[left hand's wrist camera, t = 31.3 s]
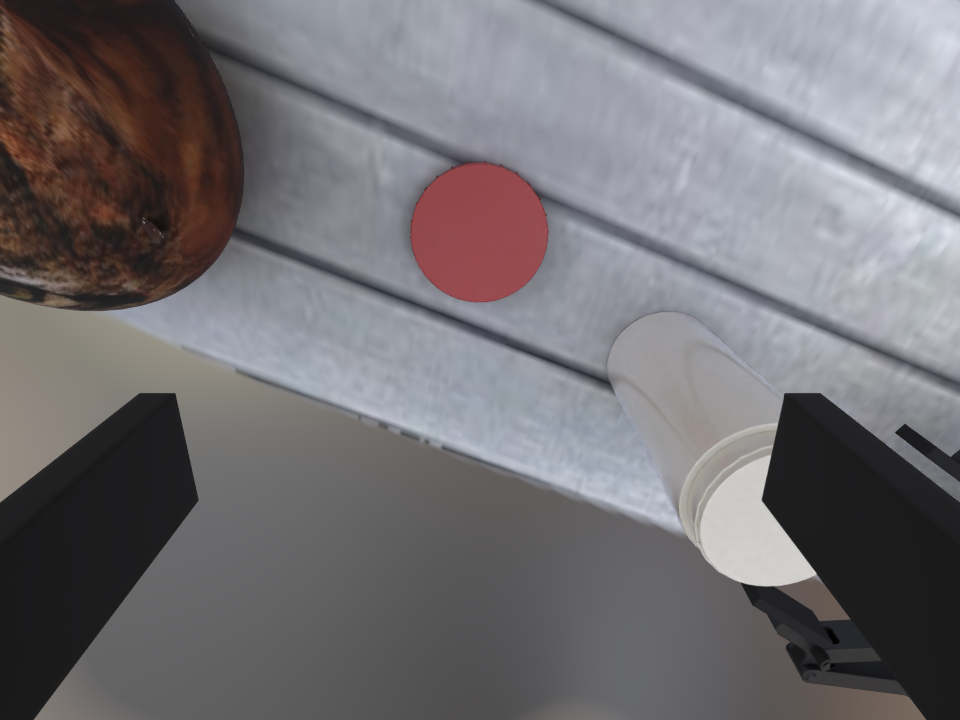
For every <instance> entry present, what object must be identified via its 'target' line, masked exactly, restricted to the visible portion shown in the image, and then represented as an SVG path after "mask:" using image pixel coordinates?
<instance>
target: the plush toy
mask: <svg viewBox="0 0 960 720" xmlns="http://www.w3.org/2000/svg"><path fill="white" fill-rule="evenodd" d="M243 183H244V167H243V151H242V145H241V139H240V133H239V129H238V125H237V121H236V117H235V114H234V111H233V107H232V105H231V102H230V99H229V96H228V93H227V90H226V88H225V85H224V83H223V81H222V79H221V76H220V74H219V72H218V70H217V68H216V66H215V64H214V62H213V60H212V58H211V56H210V54H209V52H208V51H207V49H206V47H205V45H204V44H203V42H202V41H201V39H200V37H199V36H198V34H197V32H196V31H195V29H194V27H193V26H192V25H191V23H190V22H189V20H188V19H187V17H186V16H185V14H184V13H183V12H182V10H181V9H180V8H179V6H178V5H177V4H176V2H175V1H174V0H0V295H3V296H6V297H9V298H12V299H16V300H20V301H24V302H28V303H31V304H36V305H41V306H47V307H52V308H58V309H68V310H79V311H107V310H119V309H126V308H132V307H137V306H142V305H145V304H149V303H152V302H155V301H158V300H161V299H163V298H166V297H168V296H170V295H173V294H175V293H176V292H178V291H180V290H182V289H183V288H185V287H187V286H188V285H190V284H191V283H192V282H194V281H195V280H196V279H198V278H199V277H200V276H201V275H202V274H203V273H204V272H205V271H206V270H207V269H208V268H209V267H210V266H211V265H212V264H213V263H214V262H215V261H216V259H217V258H218V257H219V256H220V254H221V253H222V251H223V250H224V248H225V246H226V245H227V243H228V241H229V239H230V237H231V235H232V232H233V230H234V227H235V225H236V222H237V218H238V215H239V211H240V207H241V202H242V195H243Z"/></svg>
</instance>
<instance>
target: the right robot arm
mask: <svg viewBox="0 0 960 720" xmlns="http://www.w3.org/2000/svg"><path fill="white" fill-rule="evenodd" d="M895 433H896V434H897V435H899V436H900V437H901V438H903V439H904V440H905V441H906V442H908V443H909V444H910V445H912V446H913V447H914V448H915V449H917V450H918V451H919V452H921V453H922V454H923V455H925V456H926V457H927V458H929V459H930V460H931V461H933V462H934V463H935V464H937V465H938V466H939V467H941V468H942V469H943V470H945V471H946V472H947V473H949V474H950V475H951V476H953V477H954V478H956V479H957V480H958V481H960V450H959V451H958V452H956V453H955V454H954V455H953V456H952V457H949V456H948V455H947V454H945V453H944V452H943V451H941V450H940V449H939V448H937V447H936V446H935V445H933V444H932V443H930V442H929V441H928V440H926V439H925V438H924V437H922V436H921V435H920V434H918V433H917V432H915V431H914V430H913V429H911V428H910V427H909V426H907V425H906V424H904V425H903V426H902V427H901V428H900V429H899V430H897V431H896V432H895ZM741 584H742V586H743V588H744V590H745V592H746V594H747V596H748V597H749V599H750V601H751V603H752V605H753V606H755V607H756V608H758V609H760V610H761V611H763V612H764V613H766V614H767V615H768V617H769V619H770V621H771V622H772V624H773V626H774V628H775V630H776V631H777V633H778V634H779V635H780V636H782V637H784V638H785V639H787V640H789V641H790V643H788V644H787V646H786V651H787V652H788V654H789V656H790V658H791V660H792V662H793V663H794V665H795V667H796V669H797V671H798V673H799V674H800V676H801V678H802V680H803V681H804V682H807V683H814V684H822V685H830V686H838V687H845V688H853V689H861V690H869V691H877V692H885V693H892V694H900V695H905V696H908V695H907V693H906V692H905V691H904V689H903V688H902V687H901V685H900V684H899V683H898V681H897V680H896V679H895V677H894V676H893V675H892V673H891V672H890V671H889V669H888V668H887V667H886V665H885V664H884V663H883V661H882V660H881V659H880V657H879V656H878V655H877V653H876V652H875V651H874V649H873V648H872V647H871V645H870V644H869V643H868V641H867V640H866V639H865V637H864V636H863V635H862V633H861V632H860V631H859V629H858V628H857V627H856V625H855V624H854V623H853V621H852V620H834V621H819V620H818V619H817V617H816V616H815V614H814V613H813V611H812V610H810V609H808V608H807V607H805V606H804V605H802V604H801V603H799V602H797V601H796V600H794V599H793V598H791V597H790V596H788V595H786V594H785V593H783V592H782V591H780V590H778V589H777V588H775V587H774V586H755V585H749V584H745V583H741ZM908 697H909V696H908Z"/></svg>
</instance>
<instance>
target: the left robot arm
mask: <svg viewBox="0 0 960 720" xmlns="http://www.w3.org/2000/svg"><path fill="white" fill-rule="evenodd" d="M197 502H198V495H197V491H196V486H195V482H194V477H193V472H192V468H191V463H190V459H189V454H188V449H187V445H186V440H185V436H184V431H183V427H182V422H181V417H180V413H179V408H178V404H177V399H176V394H175V393H140V394H138V395H137V396H136V397H134V398H133V399H132V400H131V401H129V402H128V403H127V404H125V405H124V406H123V407H122V408H120V409H119V410H118V411H116V412H115V413H114V414H113V415H111V416H110V417H109V418H108V419H106V420H105V421H104V422H103V423H101V424H100V425H99V426H97V427H96V428H95V429H94V430H92V431H91V432H90V433H88V434H87V435H86V436H85V437H83V438H82V439H81V440H80V441H78V442H77V443H76V444H74V445H73V446H72V447H71V448H69V449H68V450H67V451H65V452H64V453H63V454H62V455H60V456H59V457H58V458H57V459H55V460H54V461H53V462H51V463H50V464H49V465H48V466H46V467H45V468H44V469H43V470H41V471H40V472H39V473H37V474H36V475H35V476H34V477H32V478H31V479H30V480H28V481H27V482H26V483H25V484H23V485H22V486H21V487H20V488H18V489H17V490H16V491H15V492H13V493H12V494H11V495H9V496H8V497H7V498H6V499H4V500H3V501H2V502H0V720H34V718H35V717H36V716H37V714H38V713H39V712H40V710H41V709H42V708H43V706H44V705H45V704H46V702H47V701H48V700H49V698H50V697H51V696H52V694H53V693H54V692H55V691H56V689H57V688H58V687H59V685H60V684H61V683H62V681H63V680H64V679H65V677H66V676H67V675H68V673H69V672H70V671H71V669H72V668H73V667H74V665H75V664H76V663H77V661H78V660H79V659H80V657H81V656H82V655H83V653H84V652H85V651H86V649H87V648H88V647H89V645H90V644H91V643H92V641H93V640H94V639H95V637H96V636H97V635H98V633H99V632H100V631H101V629H102V628H103V627H104V625H105V624H106V623H107V621H108V620H109V619H110V617H111V616H112V615H113V613H114V612H115V611H116V609H117V608H118V607H119V605H120V604H121V603H122V601H123V600H124V599H125V597H126V596H127V595H128V594H129V592H130V591H131V590H132V588H133V587H134V585H135V584H136V583H137V582H138V580H139V579H140V577H141V576H142V575H143V574H144V572H145V571H146V570H147V568H148V567H149V566H150V564H151V563H152V562H153V560H154V559H155V558H156V556H157V555H158V554H159V552H160V551H161V550H162V548H163V547H164V546H165V544H166V543H167V542H168V540H169V539H170V538H171V536H172V535H173V534H174V532H175V531H176V530H177V528H178V527H179V526H180V524H181V523H182V522H183V520H184V519H185V518H186V516H187V515H188V514H189V512H190V511H191V510H192V508H193V507H194V506H195V504H196V503H197ZM762 502H763V503H764V504H765V506H766V507H767V508H768V510H769V511H770V512H771V514H772V515H773V516H774V518H775V519H776V520H777V522H778V523H779V524H780V526H781V527H782V528H783V530H784V531H785V532H786V534H787V535H788V536H789V538H790V539H791V540H792V542H793V543H794V544H795V546H796V547H797V548H798V550H799V551H800V552H801V554H802V555H803V556H804V558H805V559H806V560H807V562H808V563H809V564H810V566H811V567H812V568H813V570H814V571H815V572H816V574H817V575H818V576H819V578H820V579H821V580H822V582H823V583H824V584H825V586H826V587H827V588H828V589H829V591H830V592H831V594H832V595H833V596H834V597H835V599H836V600H837V601H838V603H839V604H840V605H841V607H842V608H843V609H844V611H845V612H846V613H847V615H848V616H849V617H850V619H851V620H852V621H853V623H854V624H855V625H856V627H857V628H858V629H859V631H860V632H861V633H862V635H863V636H864V637H865V639H866V640H867V641H868V643H869V644H870V645H871V647H872V648H873V649H874V651H875V652H876V653H877V655H878V656H879V657H880V659H881V660H882V661H883V663H884V664H885V665H886V667H887V668H888V669H889V671H890V672H891V673H892V675H893V676H894V677H895V679H896V680H897V681H898V683H899V684H900V685H901V687H902V688H903V689H904V691H905V692H906V693H907V695H908V696H909V697H910V699H911V700H912V701H913V702H914V704H915V705H916V706H917V708H918V709H919V710H920V712H921V713H922V714H923V716H924V717H925V718H926V720H960V502H958V501H957V500H956V499H954V498H953V497H952V496H951V495H949V494H948V493H947V492H946V491H944V490H943V489H942V488H940V487H939V486H938V485H937V484H935V483H934V482H933V481H932V480H930V479H929V478H928V477H926V476H925V475H924V474H923V473H921V472H920V471H919V470H917V469H916V468H915V467H914V466H912V465H911V464H910V463H909V462H907V461H906V460H905V459H903V458H902V457H901V456H900V455H898V454H897V453H896V452H895V451H893V450H892V449H891V448H889V447H888V446H887V445H886V444H884V443H883V442H882V441H881V440H879V439H878V438H877V437H875V436H874V435H873V434H872V433H870V432H869V431H868V430H866V429H865V428H864V427H863V426H861V425H860V424H859V423H858V422H856V421H855V420H854V419H852V418H851V417H850V416H849V415H847V414H846V413H845V412H844V411H842V410H841V409H840V408H838V407H837V406H836V405H835V404H833V403H832V402H831V401H830V400H828V399H827V398H826V397H824V396H823V395H822V394H821V393H785V394H784V399H783V404H782V408H781V413H780V417H779V422H778V426H777V431H776V436H775V440H774V445H773V449H772V454H771V459H770V463H769V468H768V472H767V477H766V482H765V486H764V491H763V495H762Z"/></svg>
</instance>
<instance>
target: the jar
mask: <svg viewBox="0 0 960 720" xmlns="http://www.w3.org/2000/svg"><path fill="white" fill-rule="evenodd" d="M607 373H608V378H609V382H610V384H611V387H612V389H613V391H614V393H615V395H616V397H617V399H618V401H619V403H620V405H621V407H622V409H623V411H624V413H625V415H626V417H627V419H628V421H629V423H630V424H631V426H632V428H633V430H634V432H635V434H636V436H637V438H638V440H639V442H640V444H641V446H642V448H643V450H644V452H645V454H646V456H647V458H648V460H649V462H650V464H651V466H652V468H653V470H654V472H655V474H656V476H657V478H658V480H659V482H660V484H661V486H662V488H663V490H664V492H665V494H666V496H667V498H668V500H669V502H670V504H671V506H672V508H673V510H674V512H675V514H676V516H677V518H678V520H679V522H680V524H681V526H682V528H683V530H684V531H685V533H686V535H687V536H688V538H689V539H690V541H691V542H692V543H693V544H694V545H695V546H696V547H697V548H698V549H700V550H701V552H702V554H703V556H704V558H705V559H706V560H707V561H708V562H709V563H710V564H711V565H712V566H713V567H714V568H715V569H716V570H717V571H718V572H720V573H722V574H724V575H726V576H727V577H729V578H731V579H734V580H736V581H738V582H741V583H745V584H749V585H755V586H781V585H788V584H792V583H796V582H800V581H802V580H805V579H808V578H811V577H813V576H815V575H817V574H816V572H815V571H814V570H813V568H812V567H811V566H810V564H809V563H808V562H807V560H806V559H805V558H804V556H803V555H802V554H801V552H800V551H799V550H798V548H797V547H796V546H795V544H794V543H793V542H792V540H791V539H790V538H789V536H788V535H787V534H786V532H785V531H784V530H783V528H782V527H781V526H780V524H779V523H778V522H777V520H776V519H775V518H774V516H773V515H772V514H771V512H770V511H769V510H768V508H767V507H766V506H765V504H764V503H763V502H762V495H763V491H764V486H765V482H766V477H767V472H768V468H769V463H770V459H771V454H772V449H773V445H774V440H775V436H776V431H777V426H778V422H779V417H780V413H781V408H782V404H783V399H784V396H783V395H782V394H781V393H780V392H779V391H777V390H776V389H775V388H774V387H773V386H772V385H771V384H770V383H768V382H767V381H766V380H765V379H764V378H763V377H762V376H761V375H759V374H758V373H757V372H756V371H755V370H754V369H753V368H752V367H750V366H749V365H748V364H747V363H746V362H745V361H744V360H743V359H741V358H740V357H739V356H738V355H737V354H736V353H735V352H734V351H732V350H731V349H730V348H729V347H728V346H727V345H726V344H725V343H723V342H722V341H721V340H720V339H719V338H718V337H717V336H716V335H714V334H713V333H712V332H711V331H710V330H709V329H708V328H707V327H705V326H704V325H703V324H702V323H701V322H699V321H698V320H697V319H695V318H693V317H691V316H689V315H686V314H683V313H679V312H669V311H668V312H658V313H653V314H650V315H646V316H644V317H642V318H640V319H638V320H636V321H635V322H633V323H632V324H630V325H629V326H628V327H626V328H625V329H624V330H623V331H622V332H621V334H620V335H619V336H618V337H617V339H616V340H615V342H614V344H613V346H612V348H611V350H610V353H609V356H608V362H607Z"/></svg>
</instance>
